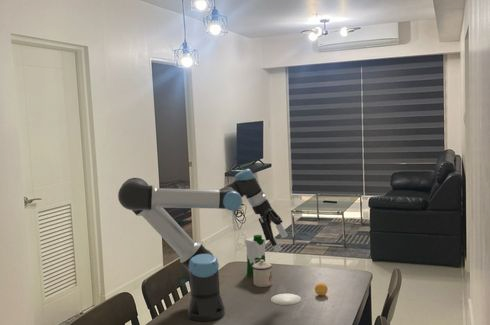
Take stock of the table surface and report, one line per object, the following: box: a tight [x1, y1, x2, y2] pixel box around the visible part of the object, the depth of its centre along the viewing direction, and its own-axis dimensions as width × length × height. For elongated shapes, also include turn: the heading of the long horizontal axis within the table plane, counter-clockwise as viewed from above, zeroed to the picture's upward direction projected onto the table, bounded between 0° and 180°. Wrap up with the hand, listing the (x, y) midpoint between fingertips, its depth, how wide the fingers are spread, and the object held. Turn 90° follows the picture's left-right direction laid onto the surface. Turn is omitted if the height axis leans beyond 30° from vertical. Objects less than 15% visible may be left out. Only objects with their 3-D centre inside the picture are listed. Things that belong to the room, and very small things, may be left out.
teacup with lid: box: [252, 260, 273, 288], centre depth 239 cm, size 12×9×12 cm
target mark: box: [270, 293, 302, 306], centre depth 217 cm, size 13×13×1 cm
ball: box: [314, 282, 328, 297], centre depth 219 cm, size 6×6×6 cm
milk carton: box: [244, 234, 267, 277], centre depth 252 cm, size 9×9×20 cm
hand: (282, 243), depth 221 cm, fingers open, 13 cm apart
